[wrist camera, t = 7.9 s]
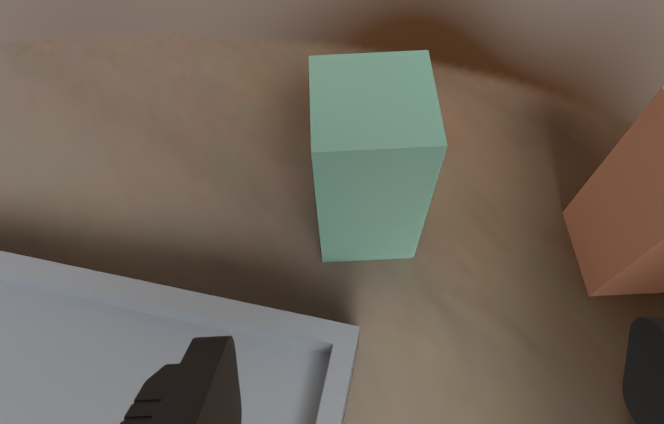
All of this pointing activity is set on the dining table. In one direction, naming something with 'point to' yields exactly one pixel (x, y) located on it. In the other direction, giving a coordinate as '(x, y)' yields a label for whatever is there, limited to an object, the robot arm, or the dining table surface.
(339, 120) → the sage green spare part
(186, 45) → the dining table surface
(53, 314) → the tray
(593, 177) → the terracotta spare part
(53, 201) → the dining table surface
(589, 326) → the dining table surface
